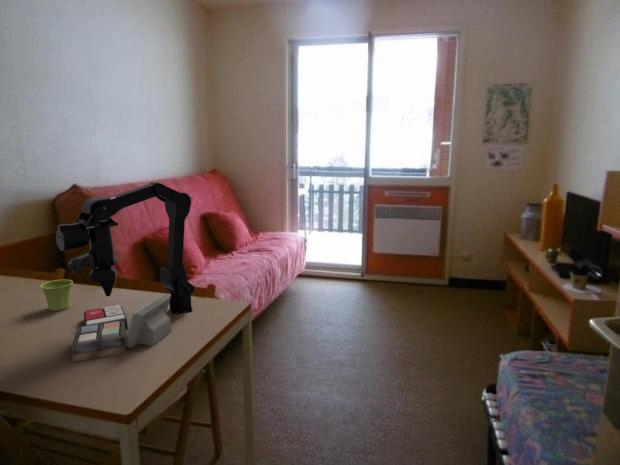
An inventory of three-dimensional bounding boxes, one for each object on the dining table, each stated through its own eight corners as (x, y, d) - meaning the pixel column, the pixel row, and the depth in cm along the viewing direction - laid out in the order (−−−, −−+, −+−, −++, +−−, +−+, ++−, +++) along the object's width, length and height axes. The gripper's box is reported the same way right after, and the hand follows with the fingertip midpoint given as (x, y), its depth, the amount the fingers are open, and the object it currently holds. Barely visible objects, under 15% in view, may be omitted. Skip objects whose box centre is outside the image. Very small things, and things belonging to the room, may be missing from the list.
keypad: (125, 331, 119) (124, 318, 118) (125, 352, 106) (123, 338, 106) (79, 338, 114) (78, 325, 113) (72, 361, 102) (71, 347, 101)
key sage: (119, 334, 111) (118, 326, 110) (119, 340, 107) (118, 332, 107) (103, 336, 109) (102, 329, 109) (102, 342, 106) (101, 335, 105)
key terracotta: (120, 328, 116) (119, 321, 116) (120, 334, 112) (119, 327, 112) (104, 331, 114) (104, 323, 114) (104, 336, 111) (103, 329, 110)
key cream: (97, 340, 109) (96, 332, 108) (96, 346, 105) (95, 338, 105) (80, 342, 107) (79, 335, 107) (78, 349, 104) (77, 341, 103)
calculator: (121, 303, 133) (126, 316, 120) (122, 315, 133) (128, 330, 120) (83, 309, 127) (84, 324, 114) (84, 322, 128) (86, 338, 115)
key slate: (99, 332, 114) (98, 324, 113) (97, 337, 110) (97, 330, 110) (82, 334, 112) (82, 327, 112) (81, 340, 109) (80, 332, 108)
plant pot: (78, 301, 143) (75, 278, 142) (72, 311, 134) (69, 286, 133) (48, 304, 140) (45, 280, 139) (39, 314, 132) (36, 289, 130)
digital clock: (159, 324, 124) (157, 291, 122) (182, 329, 121) (180, 295, 119) (116, 346, 110) (112, 310, 108) (141, 353, 106) (137, 315, 104)
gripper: (72, 239, 118) (80, 290, 121) (63, 254, 101) (72, 312, 105) (114, 235, 122) (120, 284, 126) (112, 249, 106) (119, 305, 109)
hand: (108, 295), depth 116 cm, fingers closed
